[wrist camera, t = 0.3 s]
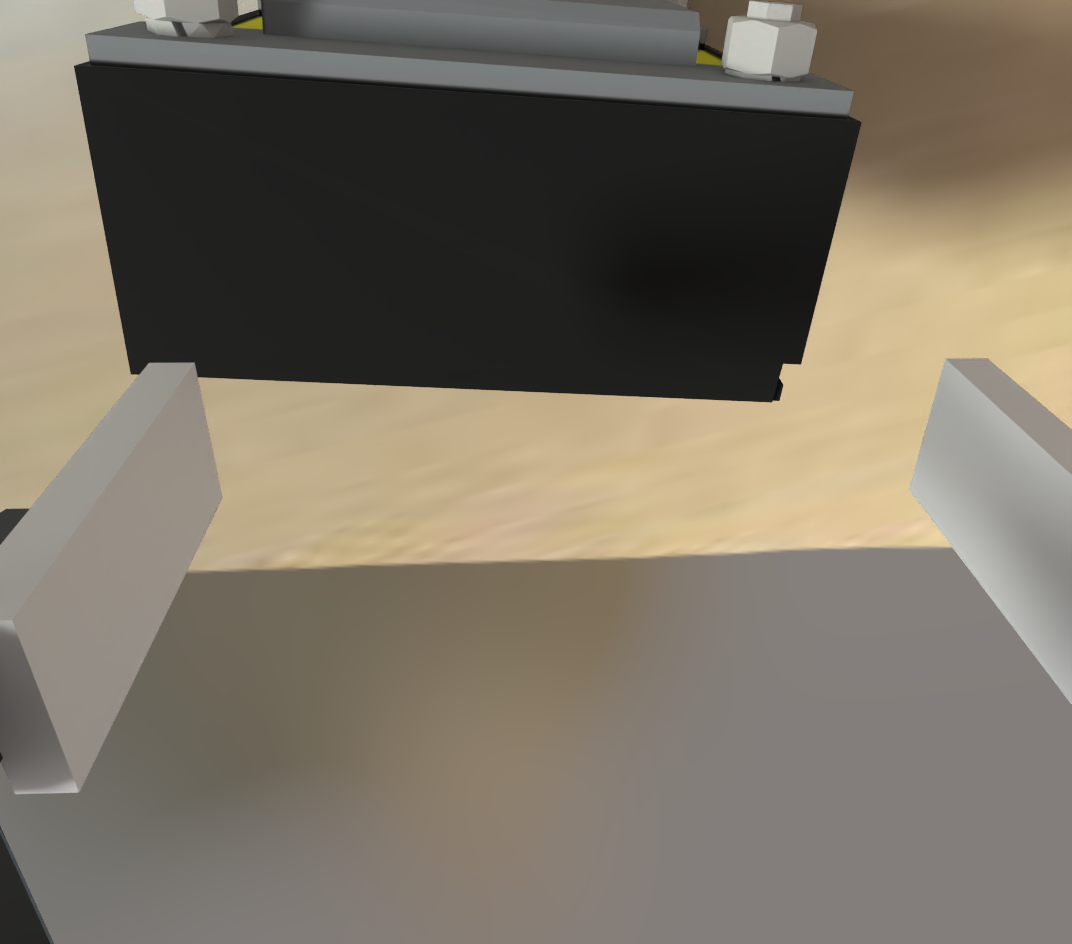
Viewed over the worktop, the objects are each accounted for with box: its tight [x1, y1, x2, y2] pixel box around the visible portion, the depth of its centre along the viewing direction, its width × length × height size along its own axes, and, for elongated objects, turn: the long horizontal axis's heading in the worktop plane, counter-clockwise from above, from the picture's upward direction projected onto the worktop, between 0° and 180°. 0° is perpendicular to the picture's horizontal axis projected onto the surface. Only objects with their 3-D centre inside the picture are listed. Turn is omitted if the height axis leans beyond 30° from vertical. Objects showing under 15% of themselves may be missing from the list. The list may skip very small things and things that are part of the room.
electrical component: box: [74, 0, 861, 402], centre depth 30 cm, size 18×10×20 cm, turn 86°
